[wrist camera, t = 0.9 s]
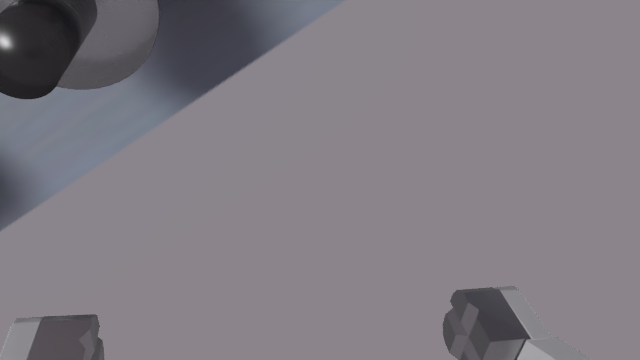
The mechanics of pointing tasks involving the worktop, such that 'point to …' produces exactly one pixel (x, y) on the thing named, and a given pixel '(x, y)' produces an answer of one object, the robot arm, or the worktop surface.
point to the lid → (72, 43)
